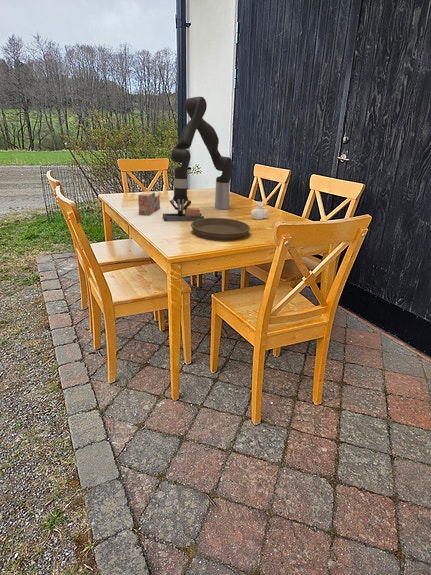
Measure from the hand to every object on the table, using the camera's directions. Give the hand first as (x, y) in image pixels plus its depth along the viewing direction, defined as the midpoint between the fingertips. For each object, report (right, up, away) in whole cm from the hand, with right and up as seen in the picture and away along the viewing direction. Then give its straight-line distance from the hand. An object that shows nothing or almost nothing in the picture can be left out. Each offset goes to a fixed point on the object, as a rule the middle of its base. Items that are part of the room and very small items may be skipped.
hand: (180, 216), depth 215 cm
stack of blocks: (-21, +6, +15) cm, 26 cm away
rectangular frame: (+2, -1, +1) cm, 3 cm away
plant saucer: (+23, -13, -22) cm, 34 cm away
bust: (+48, +1, +13) cm, 49 cm away
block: (+7, -1, +2) cm, 7 cm away
